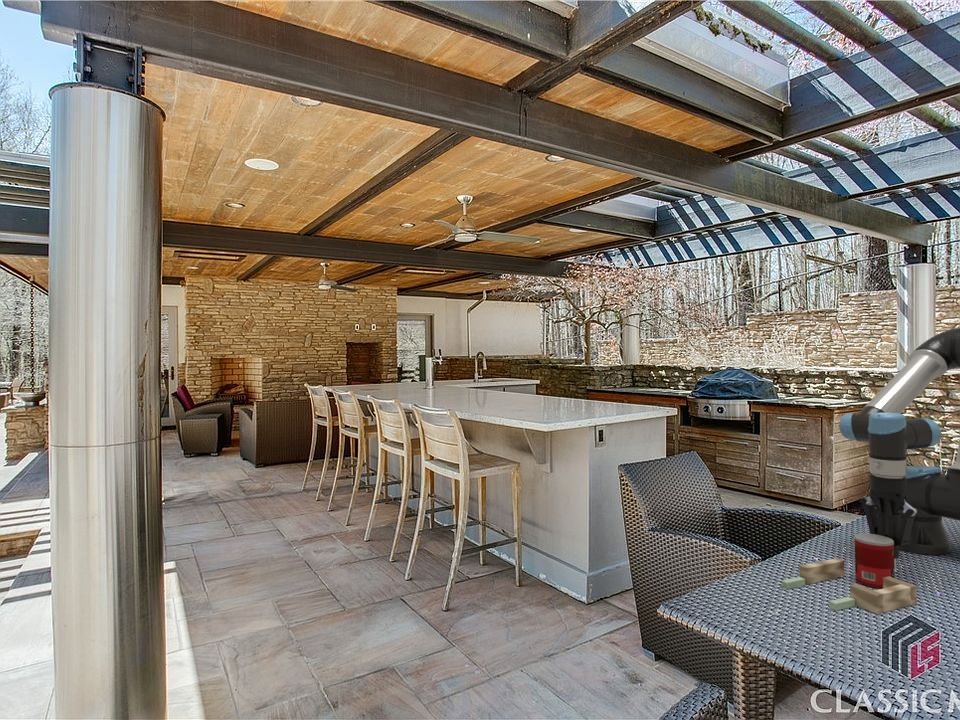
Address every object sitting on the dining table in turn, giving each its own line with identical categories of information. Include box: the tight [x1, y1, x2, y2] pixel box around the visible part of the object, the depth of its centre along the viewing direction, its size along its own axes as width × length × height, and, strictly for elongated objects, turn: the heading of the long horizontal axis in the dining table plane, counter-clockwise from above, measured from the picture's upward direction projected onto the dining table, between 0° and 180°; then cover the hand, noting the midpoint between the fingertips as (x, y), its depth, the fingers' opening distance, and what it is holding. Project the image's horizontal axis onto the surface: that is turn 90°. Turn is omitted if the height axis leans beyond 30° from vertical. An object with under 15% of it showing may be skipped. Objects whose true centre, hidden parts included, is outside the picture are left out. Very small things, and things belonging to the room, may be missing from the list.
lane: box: [798, 557, 918, 615], centre depth 133 cm, size 13×19×4 cm
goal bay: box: [781, 576, 856, 612], centre depth 131 cm, size 6×14×2 cm, turn 20°
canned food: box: [854, 533, 896, 589], centre depth 138 cm, size 8×8×11 cm
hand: (889, 569), depth 140 cm, fingers closed
